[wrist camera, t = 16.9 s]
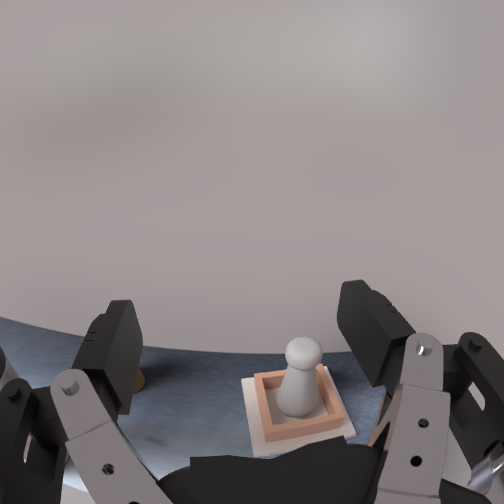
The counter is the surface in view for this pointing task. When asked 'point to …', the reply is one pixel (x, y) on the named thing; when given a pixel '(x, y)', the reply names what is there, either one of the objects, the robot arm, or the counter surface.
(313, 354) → the salt shaker
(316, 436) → the tray
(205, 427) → the counter surface
